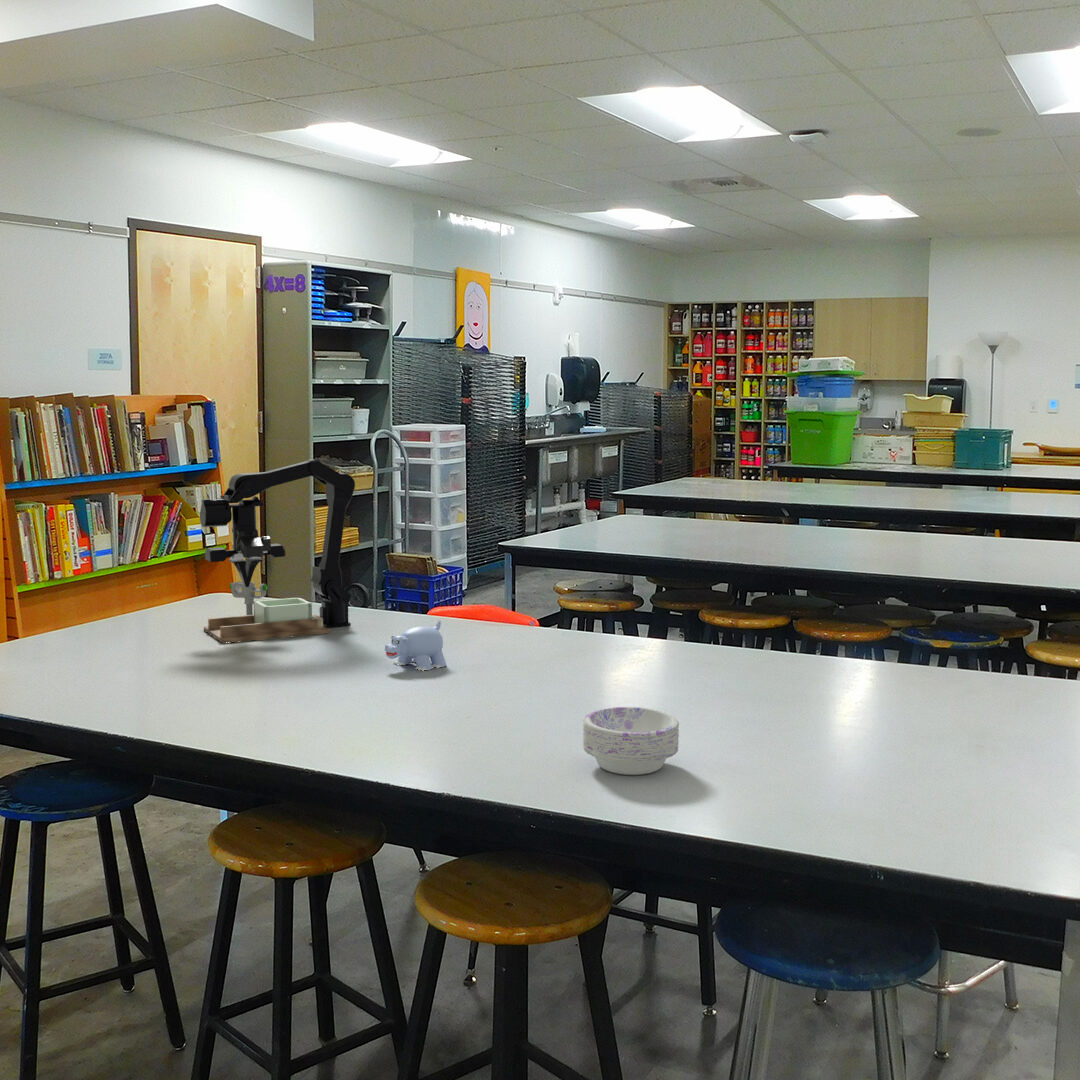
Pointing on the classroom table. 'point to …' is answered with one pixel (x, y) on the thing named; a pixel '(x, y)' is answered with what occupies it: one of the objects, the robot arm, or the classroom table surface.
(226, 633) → the wooden serving tray
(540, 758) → the classroom table surface
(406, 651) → the hippopotamus toy
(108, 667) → the classroom table surface
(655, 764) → the paper bowls
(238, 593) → the mechanical component
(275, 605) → the sage green bevelled box
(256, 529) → the robot arm
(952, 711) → the classroom table surface
